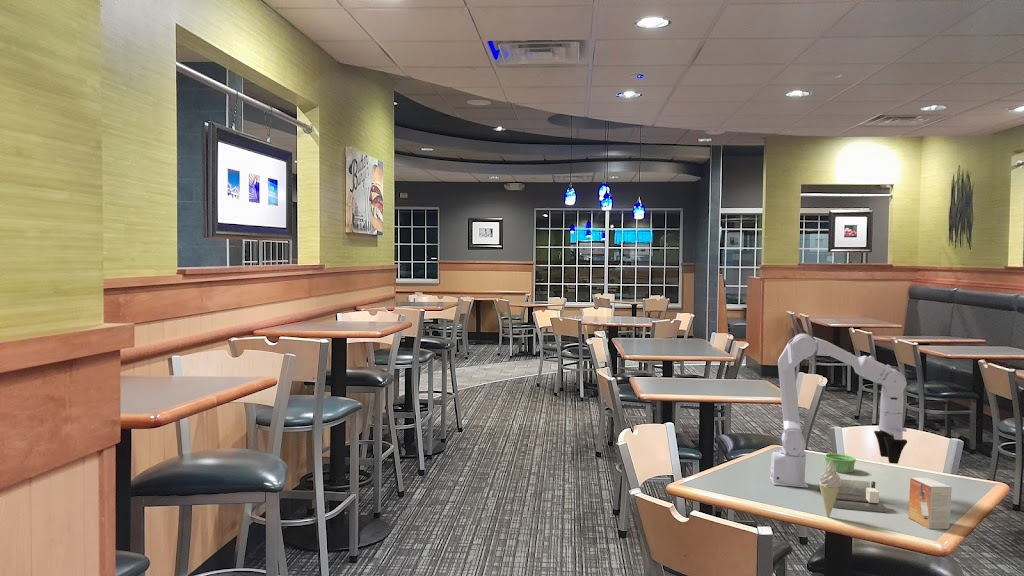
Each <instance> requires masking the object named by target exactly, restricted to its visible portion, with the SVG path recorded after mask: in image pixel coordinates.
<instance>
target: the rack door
mask: <svg viewBox="0 0 1024 576" xmlns="http://www.w3.org/2000/svg"><path fill="white" fill-rule="evenodd" d="M840 480H841V484H840V488H839V491H838V492H846V493H857V494H866V488H871V481H867V480H857V479H856V480H855V479H854V480H853V479H843V478H840Z"/></svg>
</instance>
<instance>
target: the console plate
mask: <svg viewBox="0 0 1024 576" xmlns="http://www.w3.org/2000/svg"><path fill="white" fill-rule="evenodd" d="M870 488H875V489H876V481H870ZM818 489H819V491H820V492H821V490H820V486H819V485H818ZM833 508H835V509H845V510H855V511H863V512H875V513H876V512H878V513H887V512H888V511H887V510H888V508H887V507H886V505H884V504H883V503H882V502H881V500H879V503H869V502H868V500H867V499H866V494H857V493H846V492H838V494H837V497H836V499H835V502H834V505H833ZM833 508H832V509H833Z"/></svg>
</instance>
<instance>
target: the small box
mask: <svg viewBox="0 0 1024 576" xmlns="http://www.w3.org/2000/svg"><path fill="white" fill-rule="evenodd" d="M909 478H910V480H909V481H910V482H909V496H908V497H909V498H908V500H909V501H908V513H907V514H908V515H907V517H908V519H911V520H912V521H914V522H916V523H917V524H920V525H922V526H923V527H925V528H926V529H928V530H949V529H950V523H951V522H950V521H951V507H952V490H953V489H952V487H953V486H950V485H948V484H945V483H942V482H940V481H938V480H935V479H933V478H931V477H909Z"/></svg>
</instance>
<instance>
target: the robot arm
mask: <svg viewBox="0 0 1024 576" xmlns="http://www.w3.org/2000/svg"><path fill="white" fill-rule="evenodd" d="M814 354H815V355H816V356H823V355H825V356H828V357H831V358H834V359H836V360H838V361H840V362H843V363H844V364H846V365H848V366H851V367H852V368H853V370H854V373H855V374H857V375H859V376H860V377H861V376H862V377H864V378H865V379H867V380H869V381H871V382H874V383H875V384H880V385H881V394H880V404H879V422H878V423H879V424H878V430H874V431H873V433H874V435H875V437H876V440H877V443H878V449H879V455H880V457H881V458H882V457H883V458H887V459H888V463H889V464H895V465H898V464H899V462H900V458H901V455H902V452H903V450H904V448H905V446H906V445H907V444H908V440H907V439H903V437H904V436H903V435H904V434H903V432H905V433H906V432H907V431H908V430H907V428H905V427H903V420H904V419H903V416H904V415H903V413H904V400H905V399H904V389H905V388H906V386H907V383H908V382H907V381H906V380H907V379H906V377H905V376H904V374H903V373H902V372H900V371H899V370H897V369H895V368H892V366H891V365H890V364H884V363H882V362H879V361H878V360H876V359H875V356H872V355H869V356H867V355H862V356H857V355H854V354H852V353H851V352H848V351H847V350H845V349H843V348H841V347H839V346H837V345H835V344H833V343H831V342H829V341H827V340H824V339H821V338H819V337H815V336H811V335H809V334H807V333H802V332H801V333H798V334H796V335H795V336H793V337H792V338H790V340H789V341H787V344H786V346H785V347H784V349H783V351H782V352H781V354H780V356H779V358H778V360H777V367H778V379H779V389H780V400H781V409H782V411H781V412H782V422H783V423H782V424H783V431H782V434H781V437H780V440H781V442H782V447H781V448H780V449H779V451H772V452H771V457H770V458H771V459H770V474H769V475H770V477H769V478H770V480H771V482H772V484H773V485H774V486H775V485H776V486H785V487H795V488H796V487H797V488H806V489H807V488H809V485H808V483H807V482H806V461H807V458H806V457H807V455H806V454H807V453H806V452H805V450H806V446H807V445H806V440H805V437H804V435H803V432H802V429H801V423H800V413H799V412H800V411H799V410H800V409H799V401H798V400H799V399H798V391H797V380H796V379H797V377H796V369H795V368H797V366H798V365H800V363H801V362H802V361H803V360H805V359H807V358H809V357H811V356H813V355H814Z"/></svg>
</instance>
